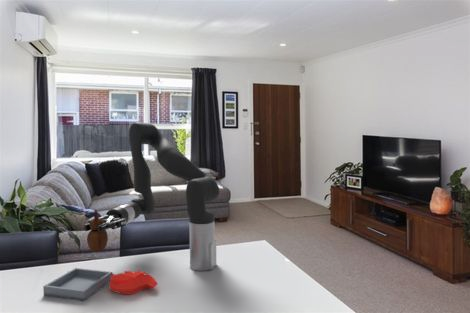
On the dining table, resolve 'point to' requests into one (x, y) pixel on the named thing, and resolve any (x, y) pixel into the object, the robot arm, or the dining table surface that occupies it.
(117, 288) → the animal figurine
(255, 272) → the dining table surface
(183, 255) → the dining table surface
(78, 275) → the slate dish
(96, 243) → the wooden figurine
